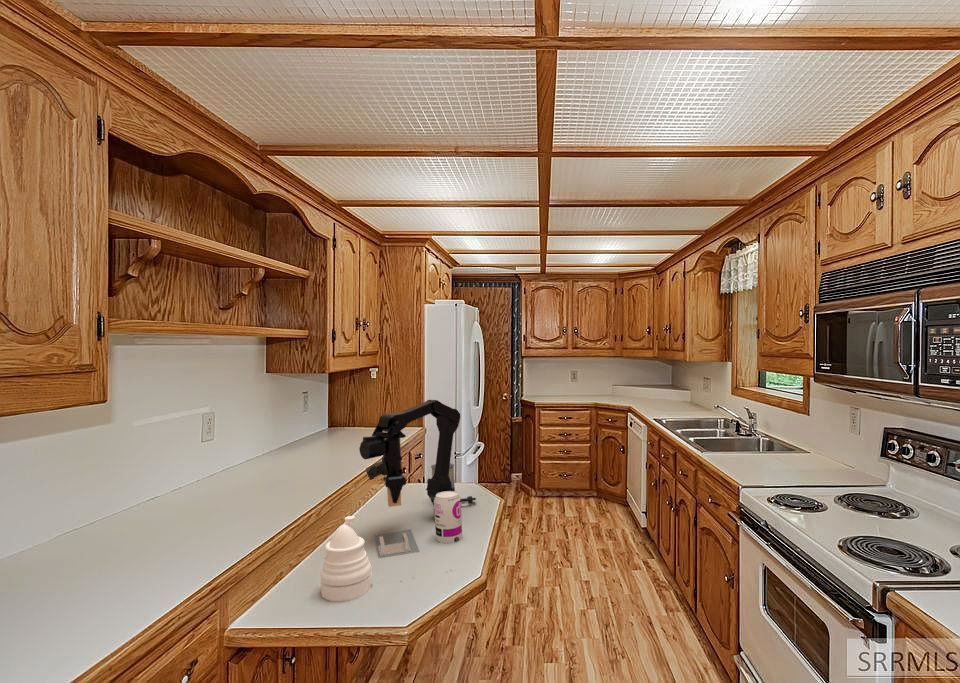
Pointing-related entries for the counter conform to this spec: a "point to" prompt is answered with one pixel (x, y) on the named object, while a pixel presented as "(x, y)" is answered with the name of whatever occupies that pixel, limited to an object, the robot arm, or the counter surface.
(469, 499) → the milk frother
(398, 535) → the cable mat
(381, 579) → the counter surface
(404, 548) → the end holder
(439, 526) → the supplement can
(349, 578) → the honey pot
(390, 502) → the orange rectangular block
